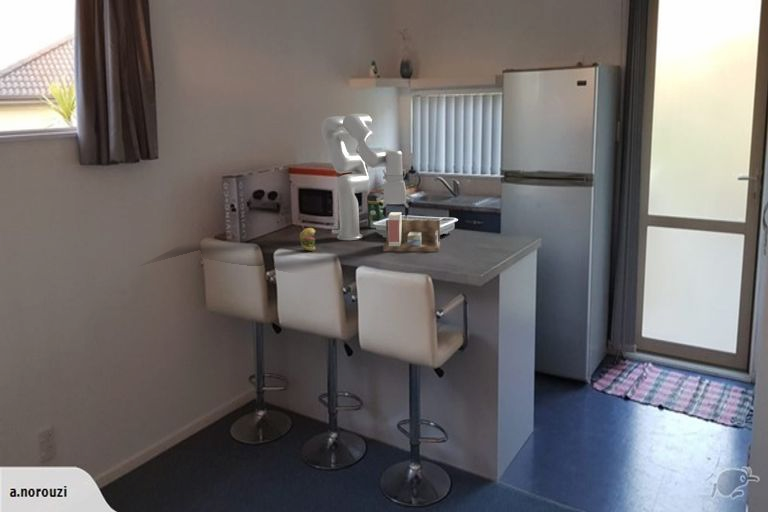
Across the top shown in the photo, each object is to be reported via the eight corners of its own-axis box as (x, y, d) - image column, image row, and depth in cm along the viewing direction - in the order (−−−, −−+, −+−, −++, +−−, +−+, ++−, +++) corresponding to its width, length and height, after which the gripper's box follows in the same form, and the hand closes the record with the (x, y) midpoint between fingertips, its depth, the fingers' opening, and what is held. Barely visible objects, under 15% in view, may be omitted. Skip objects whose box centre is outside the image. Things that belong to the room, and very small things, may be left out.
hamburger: (316, 252, 294) (314, 226, 291) (300, 253, 294) (298, 227, 291) (316, 248, 302) (315, 223, 299) (300, 249, 301) (299, 223, 298)
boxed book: (388, 246, 294) (388, 215, 291) (391, 241, 303) (390, 212, 300) (399, 246, 294) (399, 215, 290) (401, 241, 302) (401, 212, 299)
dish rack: (397, 227, 348) (397, 212, 346) (461, 232, 331) (461, 217, 329) (368, 238, 321) (367, 223, 320) (436, 245, 304) (436, 228, 302)
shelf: (383, 251, 294) (382, 225, 291) (386, 244, 306) (386, 219, 304) (438, 251, 290) (438, 225, 288) (439, 245, 303) (439, 220, 300)
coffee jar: (373, 225, 354) (372, 191, 350) (386, 226, 351) (386, 192, 346) (365, 228, 346) (364, 193, 342) (378, 229, 342) (377, 194, 338)
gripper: (374, 179, 289) (375, 217, 293) (412, 178, 286) (414, 217, 290) (376, 178, 296) (378, 215, 300) (414, 177, 294) (415, 214, 297)
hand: (395, 216), depth 295 cm, fingers open, 9 cm apart
